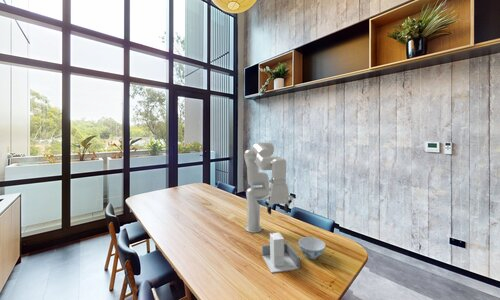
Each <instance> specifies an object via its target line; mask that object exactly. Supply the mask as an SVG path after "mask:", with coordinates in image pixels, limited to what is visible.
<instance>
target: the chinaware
mask: <svg viewBox="0 0 500 300" xmlns="http://www.w3.org/2000/svg"><path fill="white" fill-rule="evenodd" d="M298 246H299V250H300V251H301V252H302V254H303V255H305V257H306V258H308V259H310V260H315V259H318V257H320V256H322V255H323V253H324V252H325V249H326V243H325V242H324V241H323V240H321V239H320V238H316V237H312V236H303V237H301V238H299V240H298Z"/></svg>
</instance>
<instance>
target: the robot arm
mask: <svg viewBox="0 0 500 300" xmlns="http://www.w3.org/2000/svg"><path fill="white" fill-rule="evenodd" d="M274 152H275V146H274V144H273V143H272V142H256V143H254V144H253V146H252V149H247V150H245V152H244V154H243V156H244V161H245V164H246V168H247V169H246V172H247V175H246V176H247V184H248V185H249V186H253V187H249V188H247V189H246V192H245V195H246V203H247V204H246V206H247V208H246V209H247V210H246V211H247V217H246V220H247V221H246V225H245V227H244V230H245V231H246V232H248V233H253V234H257V233H259V232H261V231H262V230H263V227H262V226H261V205H260V203H259V202H258V201H263V203H264V204H265V205H266V207H267V208H266V211H267V213H268V214H269V215H272V205H279V204H282V205H283V204H284V209H283V211H284V212H285V213H287V214H288V213H289V207H290V205H291V203H292V202H293V200H294V196H293V195H290V194H289V187H288V184H287V160H286V159H284V158H282V157H280V156H273V154H274ZM259 169H260V170H261V171H262V172H260V171H259ZM263 171H264V172H263ZM265 171H271V179H269V175H268V174H267V173H266V172H265ZM258 186H259V187H258ZM267 200H268V201H267Z"/></svg>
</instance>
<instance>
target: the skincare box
mask: <svg viewBox="0 0 500 300" xmlns="http://www.w3.org/2000/svg"><path fill="white" fill-rule="evenodd" d="M284 243H285V238H284V237H283V235H282V234H281V233H280V232H272V233H269V245H270V259H271V261H272V263H273V265H274V267H278V266H284Z"/></svg>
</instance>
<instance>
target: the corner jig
mask: <svg viewBox="0 0 500 300" xmlns="http://www.w3.org/2000/svg"><path fill="white" fill-rule="evenodd" d="M261 257H262V259H263V261H264V262H265V264H266V266H267V268H268V269H269V271H270V273H271V274H275V273H281V272H288V271H295V270H299V269H301V257H300V255H299V254H298V253H297V252H296V250H294V248H293V247H292V246H291V244H289V242H288V241H287V242H284V266H278V267H274V265H273V263H272V261H271V259H270V244H263V245H261Z"/></svg>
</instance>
